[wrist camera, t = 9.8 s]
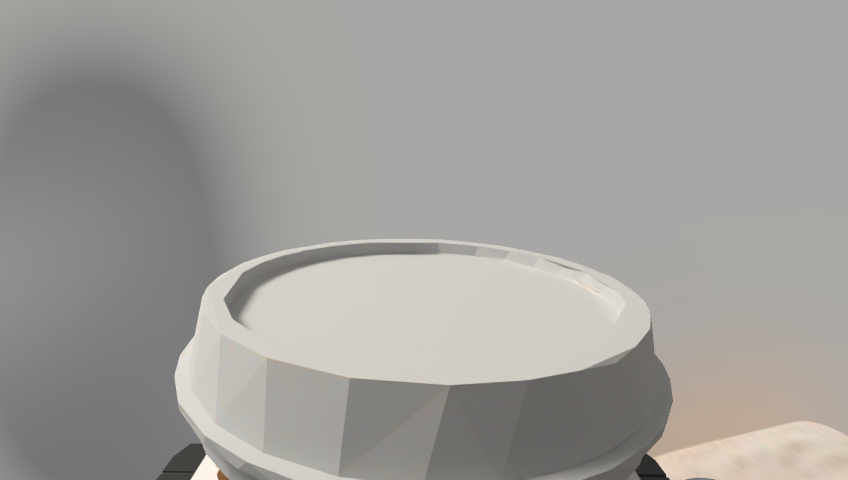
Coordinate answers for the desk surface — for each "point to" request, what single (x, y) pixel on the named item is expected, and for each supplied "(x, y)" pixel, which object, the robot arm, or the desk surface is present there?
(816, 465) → the desk surface
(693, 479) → the chrome cylinder
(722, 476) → the desk surface
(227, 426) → the disposable coffee cup
